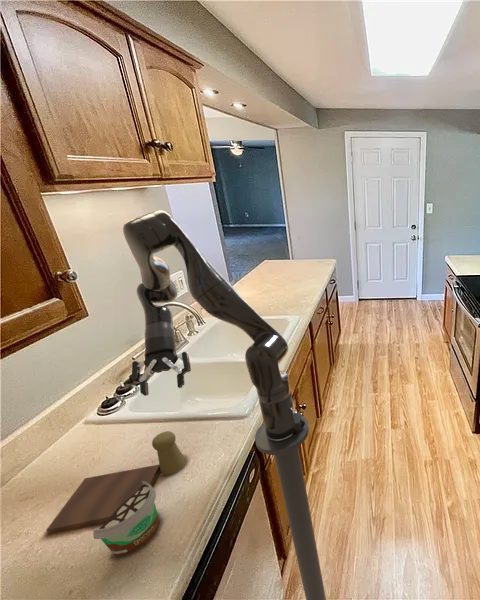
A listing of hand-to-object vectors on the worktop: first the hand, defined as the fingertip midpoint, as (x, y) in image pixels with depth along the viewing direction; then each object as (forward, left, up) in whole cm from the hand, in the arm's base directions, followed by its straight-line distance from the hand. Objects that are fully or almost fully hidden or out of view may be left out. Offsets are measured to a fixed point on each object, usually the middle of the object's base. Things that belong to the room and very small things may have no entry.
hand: (163, 391), depth 96 cm
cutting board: (+10, +18, -18) cm, 27 cm away
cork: (-2, +11, -18) cm, 21 cm away
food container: (-3, +31, -18) cm, 36 cm away
